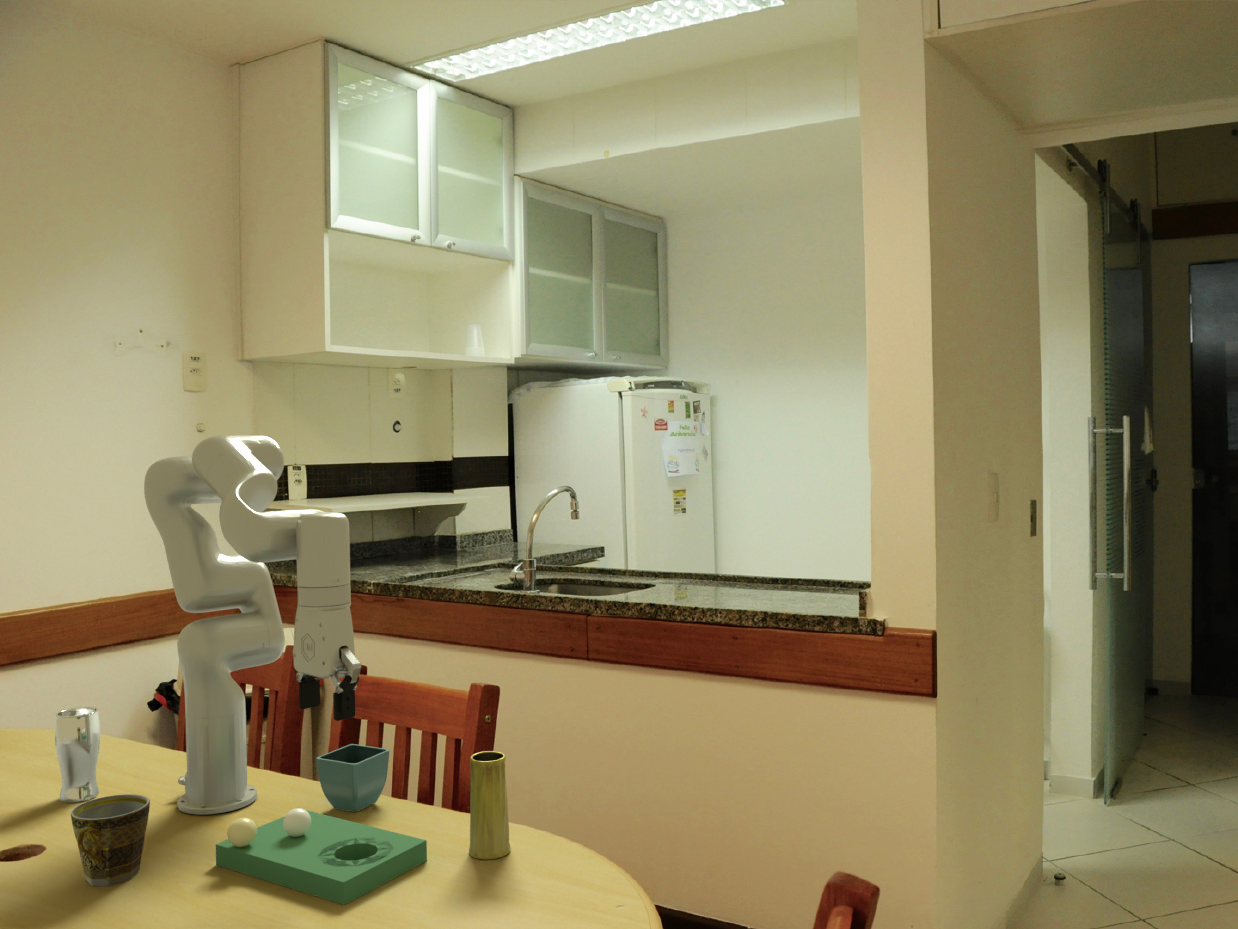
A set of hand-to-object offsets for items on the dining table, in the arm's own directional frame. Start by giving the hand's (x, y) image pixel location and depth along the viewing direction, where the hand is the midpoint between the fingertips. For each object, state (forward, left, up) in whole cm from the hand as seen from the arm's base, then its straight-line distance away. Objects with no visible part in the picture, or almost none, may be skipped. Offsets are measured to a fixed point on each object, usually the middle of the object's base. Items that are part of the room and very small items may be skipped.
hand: (326, 712), depth 148 cm
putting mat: (+1, -2, -21) cm, 21 cm away
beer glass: (-58, -3, -21) cm, 62 cm away
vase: (+20, +13, -22) cm, 32 cm away
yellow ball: (-8, -9, -16) cm, 20 cm away
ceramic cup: (-21, -21, -22) cm, 37 cm away
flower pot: (-12, +17, -22) cm, 30 cm away
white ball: (-4, -2, -16) cm, 17 cm away
